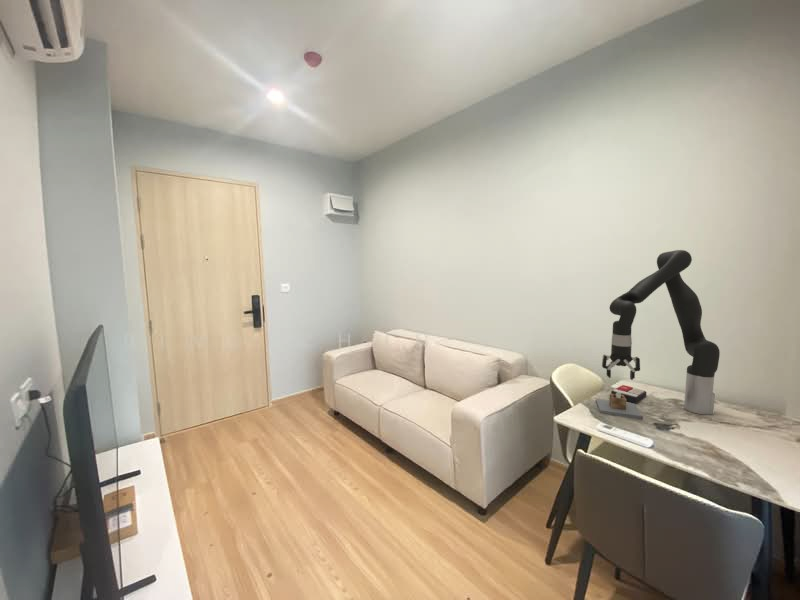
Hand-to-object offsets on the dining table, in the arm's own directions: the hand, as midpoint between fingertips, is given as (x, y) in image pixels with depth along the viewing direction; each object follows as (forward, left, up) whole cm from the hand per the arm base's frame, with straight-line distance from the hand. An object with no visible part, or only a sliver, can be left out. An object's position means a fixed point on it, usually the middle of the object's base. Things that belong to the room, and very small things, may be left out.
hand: (620, 378), depth 148 cm
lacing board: (0, 0, -15) cm, 15 cm away
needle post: (0, 0, -13) cm, 13 cm away
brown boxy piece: (0, 0, -14) cm, 14 cm away
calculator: (-8, -20, -16) cm, 27 cm away
